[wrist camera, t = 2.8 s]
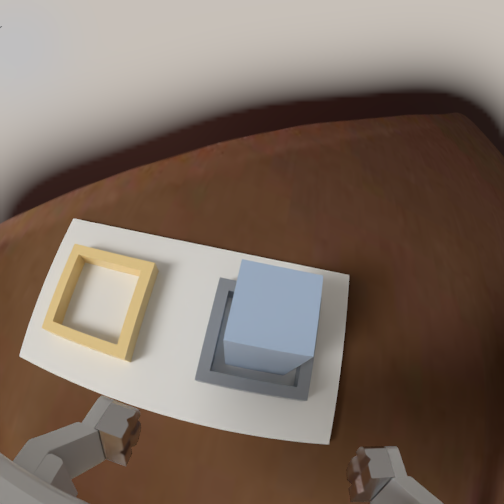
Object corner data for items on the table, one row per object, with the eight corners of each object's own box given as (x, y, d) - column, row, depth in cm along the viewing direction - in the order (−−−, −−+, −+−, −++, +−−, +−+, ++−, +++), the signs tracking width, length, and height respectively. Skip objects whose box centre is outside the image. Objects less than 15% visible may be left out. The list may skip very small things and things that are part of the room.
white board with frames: (346, 278, 25) (355, 267, 23) (326, 443, 18) (335, 446, 17) (75, 222, 25) (67, 209, 24) (23, 357, 19) (9, 352, 17)
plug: (293, 313, 22) (324, 264, 15) (283, 375, 20) (313, 356, 13) (239, 302, 22) (244, 248, 15) (225, 364, 20) (223, 339, 13)
